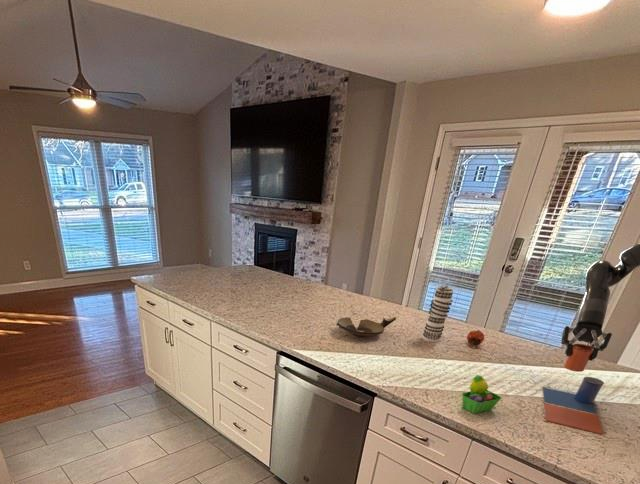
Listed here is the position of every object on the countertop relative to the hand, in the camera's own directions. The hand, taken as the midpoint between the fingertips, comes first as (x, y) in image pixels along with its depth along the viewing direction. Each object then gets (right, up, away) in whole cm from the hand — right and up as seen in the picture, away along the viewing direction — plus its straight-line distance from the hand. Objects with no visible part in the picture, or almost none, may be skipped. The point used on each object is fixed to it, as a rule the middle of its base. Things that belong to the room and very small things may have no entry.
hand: (579, 357), depth 143 cm
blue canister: (+9, -14, +10) cm, 20 cm away
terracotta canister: (+1, -3, +4) cm, 5 cm away
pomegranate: (-8, +16, +56) cm, 59 cm away
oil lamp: (-58, +23, +63) cm, 89 cm away
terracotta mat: (-4, -21, -1) cm, 22 cm away
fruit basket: (-35, -17, +3) cm, 39 cm away
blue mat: (+4, -14, +10) cm, 18 cm away
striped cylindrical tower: (-26, +20, +61) cm, 69 cm away
